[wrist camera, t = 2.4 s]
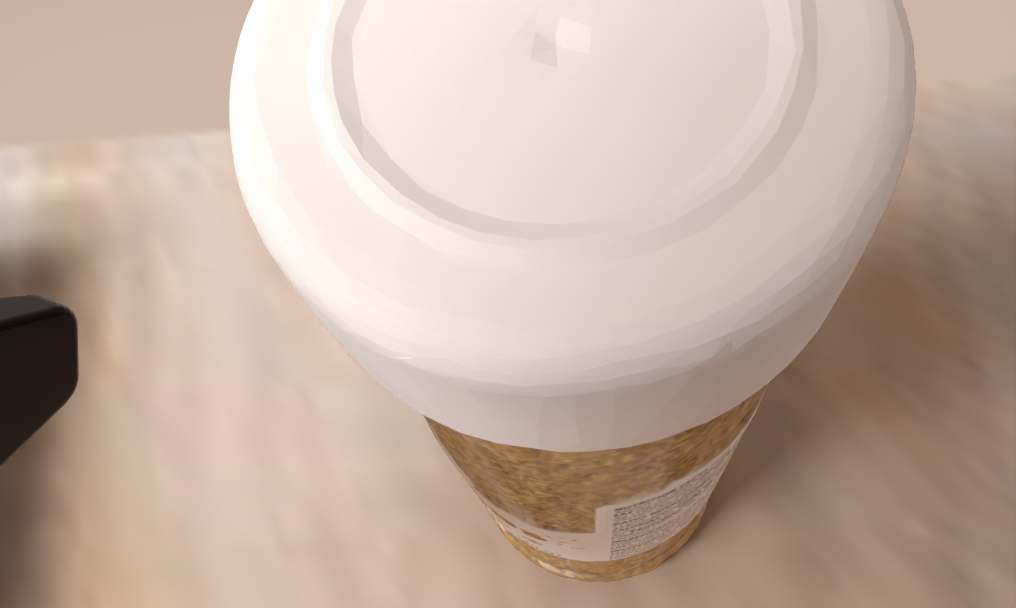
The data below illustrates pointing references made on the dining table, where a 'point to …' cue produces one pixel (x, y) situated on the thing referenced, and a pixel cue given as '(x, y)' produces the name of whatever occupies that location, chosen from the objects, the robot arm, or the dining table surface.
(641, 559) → the sprinkles bottle
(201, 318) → the dining table surface
